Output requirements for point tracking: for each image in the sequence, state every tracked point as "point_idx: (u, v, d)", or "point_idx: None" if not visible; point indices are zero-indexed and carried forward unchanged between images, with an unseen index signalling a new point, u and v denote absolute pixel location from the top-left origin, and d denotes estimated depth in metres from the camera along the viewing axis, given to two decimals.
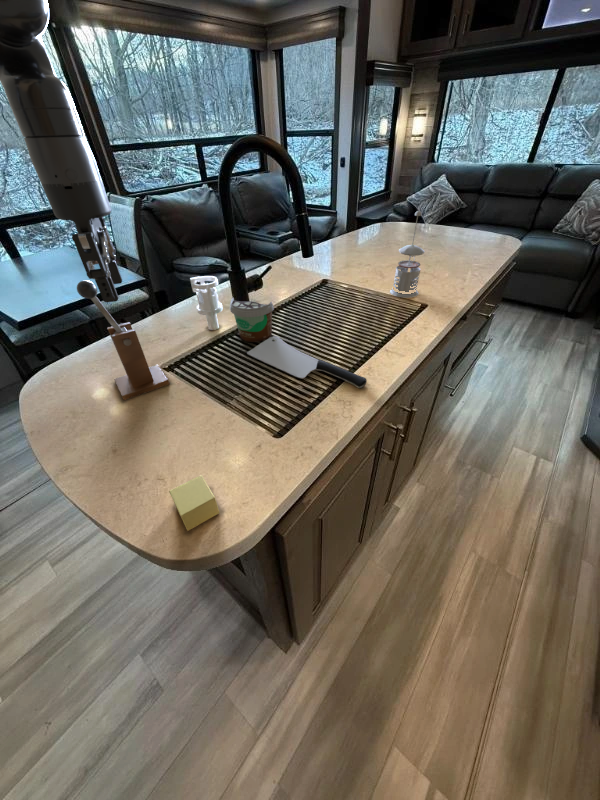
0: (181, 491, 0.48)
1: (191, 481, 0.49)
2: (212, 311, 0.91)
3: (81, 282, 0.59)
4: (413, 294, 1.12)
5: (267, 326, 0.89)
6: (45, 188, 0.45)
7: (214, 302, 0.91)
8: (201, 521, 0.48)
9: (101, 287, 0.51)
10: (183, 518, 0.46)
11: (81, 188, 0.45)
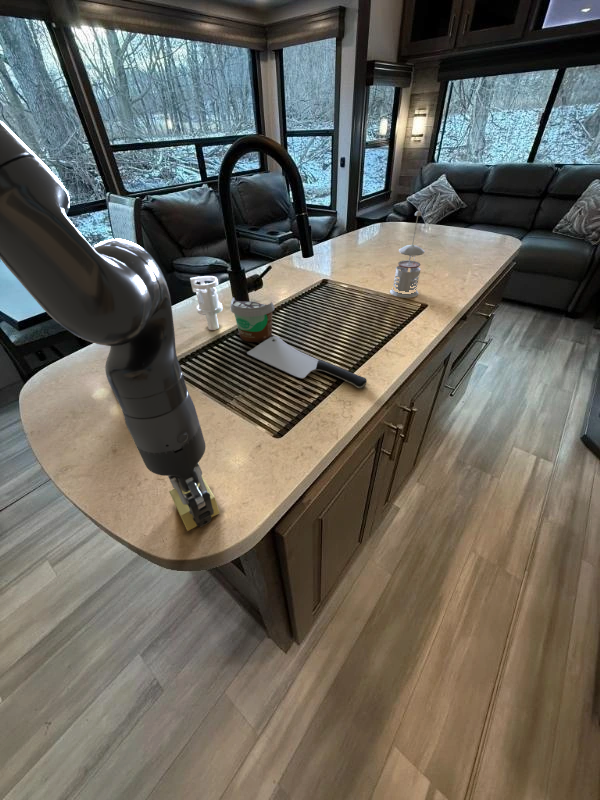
0: None
1: None
2: (212, 311, 0.91)
3: None
4: (413, 294, 1.12)
5: (267, 326, 0.89)
6: (147, 454, 0.37)
7: (214, 302, 0.91)
8: None
9: None
10: (183, 518, 0.46)
11: (190, 444, 0.38)
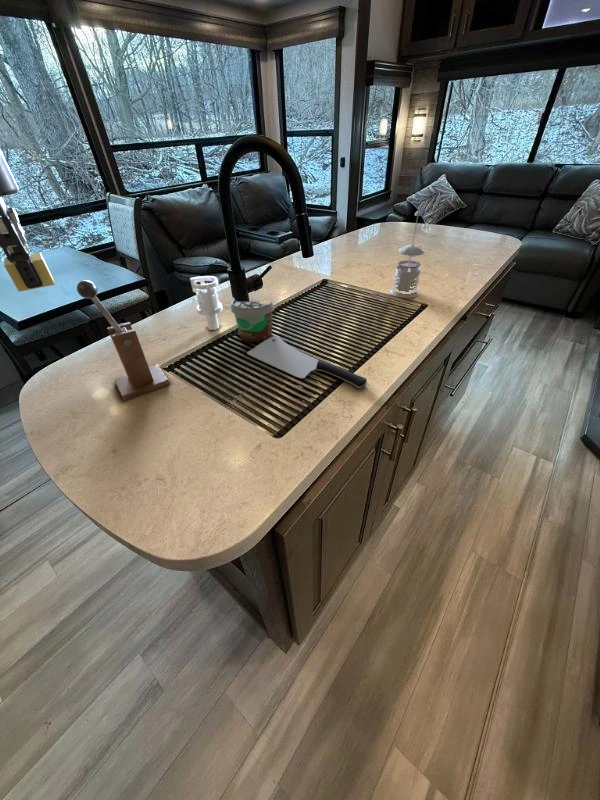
0: None
1: None
2: (212, 311, 0.91)
3: (81, 282, 0.59)
4: (413, 294, 1.12)
5: (267, 326, 0.89)
6: None
7: (214, 302, 0.91)
8: None
9: (23, 272, 0.50)
10: (8, 270, 0.50)
11: None
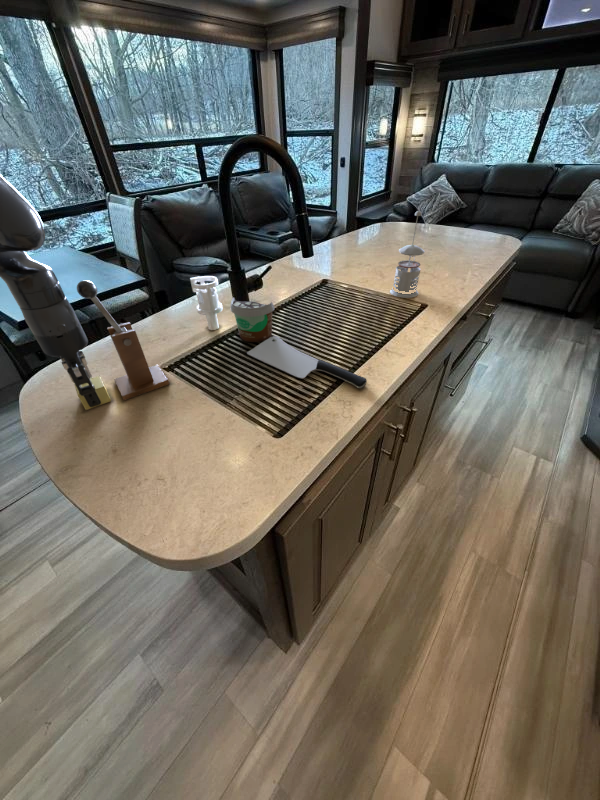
0: None
1: (91, 378, 0.71)
2: (212, 311, 0.91)
3: (81, 282, 0.59)
4: (413, 294, 1.12)
5: (267, 326, 0.89)
6: (39, 338, 0.58)
7: (214, 302, 0.91)
8: None
9: (88, 398, 0.66)
10: (80, 397, 0.67)
11: (69, 334, 0.60)
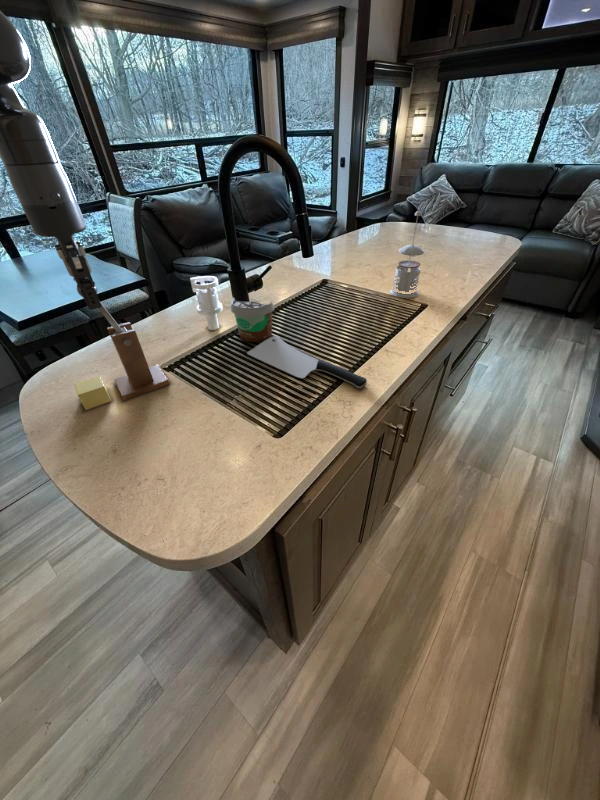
0: (82, 383, 0.70)
1: (91, 378, 0.71)
2: (212, 311, 0.91)
3: None
4: (413, 294, 1.12)
5: (267, 326, 0.89)
6: (28, 209, 0.49)
7: (214, 302, 0.91)
8: (96, 404, 0.70)
9: (87, 296, 0.59)
10: (80, 397, 0.67)
11: (64, 207, 0.51)
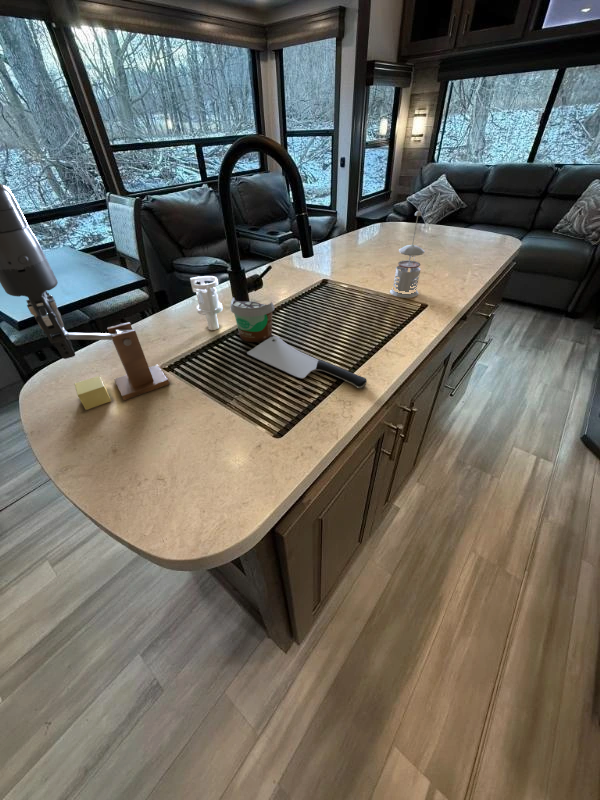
0: (82, 383, 0.70)
1: (91, 378, 0.71)
2: (212, 311, 0.91)
3: None
4: (413, 294, 1.12)
5: (267, 326, 0.89)
6: None
7: (214, 302, 0.91)
8: (96, 404, 0.70)
9: (60, 347, 0.60)
10: (80, 397, 0.67)
11: (33, 269, 0.52)
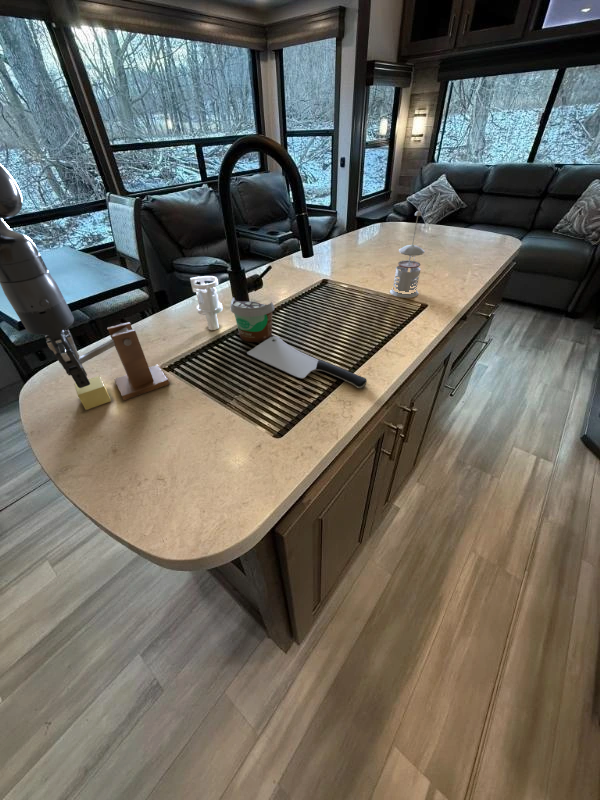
0: None
1: (91, 378, 0.71)
2: (212, 311, 0.91)
3: None
4: (413, 294, 1.12)
5: (267, 326, 0.89)
6: (20, 315, 0.55)
7: (214, 302, 0.91)
8: (96, 404, 0.70)
9: (76, 378, 0.65)
10: (80, 397, 0.67)
11: (52, 310, 0.56)
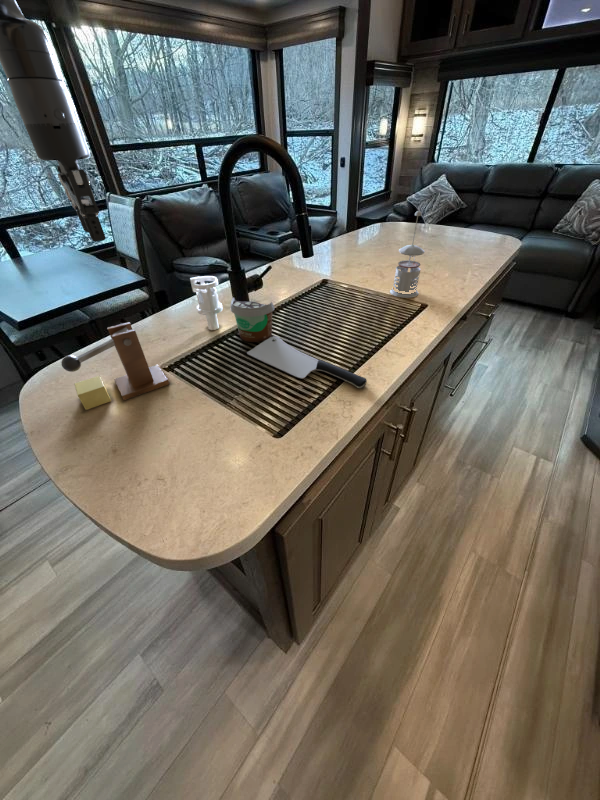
0: (82, 383, 0.70)
1: (91, 378, 0.71)
2: (212, 311, 0.91)
3: None
4: (413, 294, 1.12)
5: (267, 326, 0.89)
6: (32, 128, 0.49)
7: (214, 302, 0.91)
8: (96, 404, 0.70)
9: (91, 225, 0.56)
10: (80, 397, 0.67)
11: (68, 129, 0.50)
